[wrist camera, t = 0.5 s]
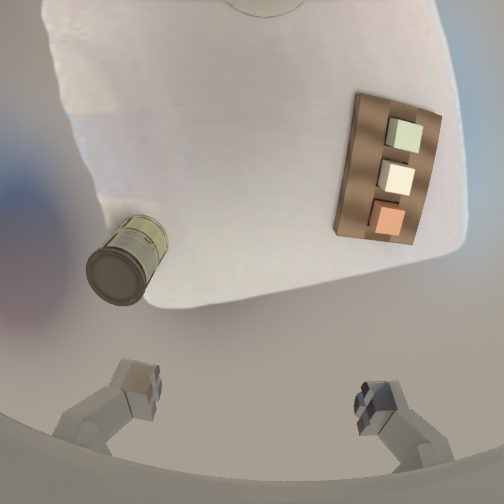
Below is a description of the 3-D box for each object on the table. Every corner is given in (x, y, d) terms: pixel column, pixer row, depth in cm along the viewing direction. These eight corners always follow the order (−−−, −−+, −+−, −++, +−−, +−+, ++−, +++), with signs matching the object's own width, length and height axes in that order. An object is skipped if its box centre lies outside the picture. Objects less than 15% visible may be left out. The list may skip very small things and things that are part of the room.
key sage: (389, 117, 44) (398, 119, 40) (413, 123, 44) (423, 126, 41) (385, 143, 46) (393, 147, 42) (409, 149, 46) (418, 153, 43)
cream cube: (382, 159, 47) (390, 163, 44) (406, 164, 47) (415, 169, 44) (377, 184, 49) (385, 191, 46) (400, 189, 49) (409, 195, 46)
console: (355, 93, 45) (361, 93, 42) (433, 114, 45) (442, 116, 42) (333, 228, 56) (336, 235, 53) (406, 238, 56) (412, 245, 53)
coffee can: (163, 270, 61) (141, 314, 48) (116, 255, 60) (85, 294, 47) (173, 223, 56) (149, 260, 44) (122, 208, 55) (86, 240, 43)
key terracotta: (374, 199, 50) (381, 206, 47) (397, 203, 50) (405, 210, 47) (368, 224, 52) (375, 232, 49) (391, 227, 52) (398, 235, 49)
